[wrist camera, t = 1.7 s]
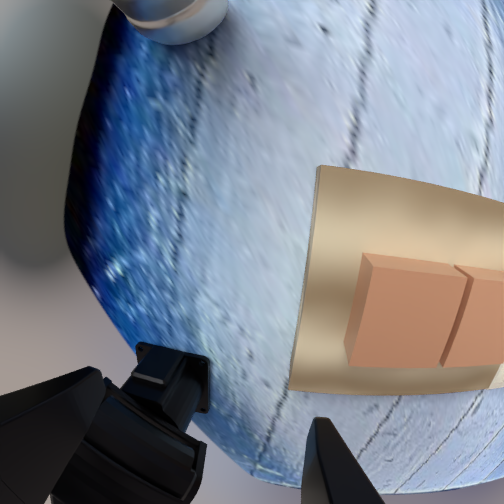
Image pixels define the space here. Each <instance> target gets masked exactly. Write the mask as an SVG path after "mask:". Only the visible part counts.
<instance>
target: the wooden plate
mask: <svg viewBox="0 0 504 504" xmlns="http://www.w3.org/2000/svg"><path fill="white" fill-rule="evenodd" d="M362 252H363V253H371V254H379V255H387V256H395V257H403V258H410V259H418V260H426V261H433V262H441V263H448V264H449V265H451V266H452V267H453V266H454V264H455V265H463V266H470V267H477V268H484V269H491V270H498V271H504V203H502V202H499V201H496V200H492V199H489V198H486V197H482V196H478V195H475V194H471V193H467V192H463V191H459V190H456V189H451V188H447V187H443V186H439V185H435V184H430V183H426V182H421V181H416V180H411V179H406V178H401V177H396V176H391V175H385V174H380V173H374V172H368V171H361V170H355V169H348V168H341V167H334V166H327V165H320V166H318V167H317V171H316V182H315V192H314V201H313V211H312V219H311V228H310V236H309V244H308V252H307V260H306V267H305V274H304V281H303V288H302V295H301V301H300V308H299V314H298V320H297V326H296V332H295V338H294V344H293V350H292V355H291V361H290V373H289V385H288V390H295V391H305V392H316V393H329V394H346V395H425V394H441V393H453V392H464V391H472V390H480V389H488V388H489V386H490V384H491V383H492V381H493V379H494V377H495V375H496V373H497V371H498V369H499V367H500V365H501V364H494V365H482V366H468V367H447V368H443V367H442V365H441V364H440V362H438V365H437V367H436V368H380V367H358V366H349V365H348V361H347V356H346V351H345V347H344V342H343V341H344V337H345V333H346V329H347V325H348V321H349V317H350V312H351V308H352V304H353V299H354V294H355V289H356V285H357V280H358V274H359V269H360V264H361V258H362Z"/></svg>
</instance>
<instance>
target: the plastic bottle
mask: <svg viewBox="0 0 504 504" xmlns="http://www.w3.org/2000/svg"><path fill="white" fill-rule="evenodd" d="M111 1H112V2H113V3H114V4H115V5H116V6H117V7H118V8H119V9H120V10H121V11H122V12H124V13H125V16H126V17H127V19H128V20H129V22H130V23H131V24H132V25H133V26H134V27H135V28H136V29H137V30H138V32H139V33H140V34H141V35H143V36H145V37H146V38H149V39H151V40H153V41H156V42H159V43H162V44H166V45H181V44H186V43H190V42H193V41H196V40H198V39H200V38H202V37H204V36H206V35H207V34H209V33H210V32H212V31H213V30H214V29H215V28H216V27H217V26H218V25H219V24H220V23H221V21H222V20H223V19H224V17H225V15H226V13H227V9H228V0H111Z"/></svg>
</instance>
